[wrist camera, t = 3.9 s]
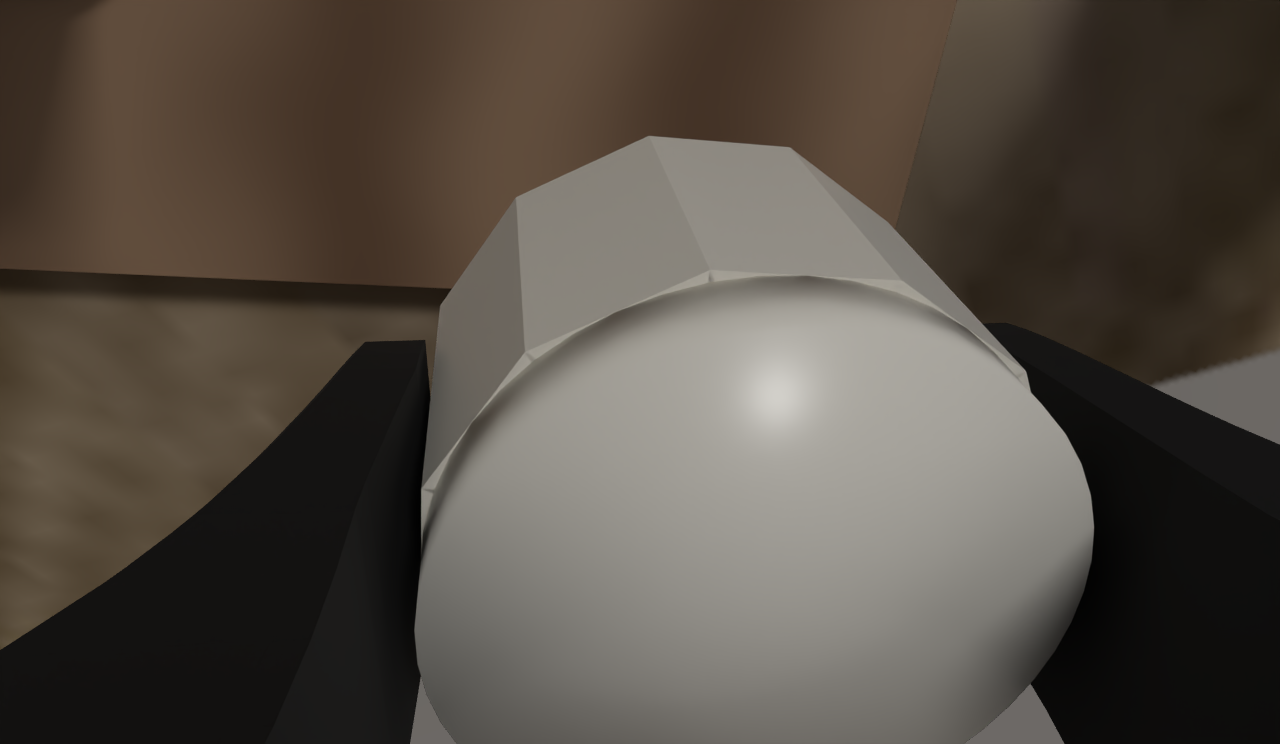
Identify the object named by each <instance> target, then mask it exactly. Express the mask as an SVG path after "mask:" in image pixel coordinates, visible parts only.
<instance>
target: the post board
mask: <svg viewBox="0 0 1280 744" xmlns="http://www.w3.org/2000/svg"><path fill="white" fill-rule="evenodd" d="M956 3H957V0H0V269H21V270H43V271H66V272H88V273H111V274H133V275H156V276H179V277H201V278H224V279H246V280H269V281H291V282H314V283H337V284H359V285H382V286H404V287H427V288H449V289H452V288H453V287H454V285H455V284H456V282H457V281H458V280H459V278H460V277H461V275H462V274H463V272H464V271H465V270H466V268H467V267H468V265H469V264H470V262H471V261H472V259H473V258H474V257H475V255H476V254H477V252H478V251H479V249H480V248H481V247H482V245H483V244H484V242H485V241H486V239H487V238H488V237H489V235H490V234H491V232H492V231H493V229H494V228H495V227H496V225H497V224H498V222H499V221H500V219H501V218H502V217H503V215H504V214H505V212H506V211H507V209H508V208H509V207H510V205H511V204H512V202H513V201H514V199H515V198H516V197H517V196H520V195H522V194H524V193H526V192H528V191H530V190H533V189H535V188H537V187H539V186H541V185H543V184H546V183H548V182H550V181H552V180H554V179H556V178H559V177H561V176H563V175H565V174H567V173H569V172H572V171H574V170H576V169H578V168H580V167H582V166H585V165H587V164H589V163H591V162H593V161H595V160H598V159H600V158H602V157H604V156H606V155H608V154H611V153H613V152H615V151H617V150H619V149H621V148H623V147H626V146H628V145H630V144H632V143H634V142H636V141H639V140H641V139H643V138H645V137H647V136H656V137H669V138H681V139H694V140H706V141H718V142H731V143H743V144H756V145H768V146H780V147H790V148H791V149H793V150H794V151H795V152H797V153H798V154H799V155H800V156H802V157H803V158H804V159H806V160H807V161H808V162H810V163H811V164H812V165H814V166H815V167H816V168H818V169H819V170H820V171H821V172H823V173H824V174H825V175H827V176H828V177H829V178H831V179H832V180H833V181H835V182H836V183H837V184H838V185H840V186H841V187H842V188H844V189H845V190H846V191H848V192H849V193H850V194H852V195H853V196H854V197H856V198H857V199H858V200H859V201H861V202H862V203H863V204H865V205H866V206H867V207H869V208H870V209H871V210H873V211H874V212H875V213H877V214H878V215H879V216H880V217H882V218H883V219H884V220H886V221H887V222H888V223H889V224H890V225H891V226H892V227H893V228H894V229H895V228H896V225H897V221H898V217H899V213H900V210H901V206H902V202H903V199H904V195H905V191H906V188H907V184H908V180H909V176H910V173H911V169H912V165H913V162H914V158H915V154H916V151H917V147H918V143H919V139H920V136H921V132H922V128H923V125H924V121H925V117H926V114H927V110H928V106H929V103H930V99H931V95H932V91H933V88H934V84H935V80H936V77H937V73H938V69H939V66H940V62H941V58H942V54H943V51H944V47H945V43H946V40H947V36H948V32H949V29H950V25H951V21H952V17H953V14H954V10H955V6H956Z"/></svg>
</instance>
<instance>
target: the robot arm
mask: <svg viewBox="0 0 1280 744" xmlns="http://www.w3.org/2000/svg"><path fill="white" fill-rule="evenodd" d="M983 325H984V326H985V328H986V329H987V330H988V331H989V332H990V333H991V334H992V335H993V336H994V337H995V338H996V339H997V340H998V342H999V343H1000V344H1001V345H1002V346H1003V347H1004V348H1005V349H1006V350H1007V351H1008V352H1009V353H1010V354H1011V356H1012V357H1013V358H1014V359H1015V360H1016V361H1017V362H1018V363H1019V364H1020V365H1021V366H1022V367H1023V369H1024V370H1025V371H1026V373H1027V377H1028V382H1029V386H1030V390H1031V393H1032V394H1033V395H1034V396H1035V398H1036V399H1037V400H1038V401H1039V402H1040V403H1041V404H1042V405H1043V406H1044V408H1045V409H1046V410H1047V411H1048V413H1049V414H1050V415H1051V416H1052V418H1053V419H1054V420H1055V421H1056V423H1057V424H1058V425H1059V426H1060V428H1061V429H1062V430H1063V431H1064V433H1065V434H1066V436H1067V438H1068V439H1069V441H1070V443H1071V445H1072V447H1073V449H1074V451H1075V453H1076V455H1077V457H1078V458H1079V460H1080V462H1081V464H1082V467H1083V471H1084V474H1085V478H1086V481H1087V484H1088V488H1089V491H1090V494H1091V502H1092V512H1093V521H1094V536H1093V549H1092V560H1091V564H1090V568H1089V573H1088V577H1087V581H1086V585H1085V589H1084V592H1083V595H1082V597H1081V600H1080V602H1079V605H1078V607H1077V609H1076V612H1075V614H1074V617H1073V619H1072V622H1071V624H1070V625H1069V627H1068V629H1067V631H1066V632H1065V634H1064V636H1063V638H1062V639H1061V641H1060V643H1059V645H1058V646H1057V648H1056V650H1055V652H1054V653H1053V654H1052V656H1051V657H1050V658H1049V660H1048V661H1047V662H1046V664H1045V665H1044V666H1043V668H1042V669H1041V671H1040V672H1039V673H1038V675H1037V676H1036V677H1035V679H1034V680H1033V681H1032V682H1031V685H1032V686H1033V688H1034V690H1035V692H1036V693H1037V695H1038V697H1039V698H1040V700H1041V702H1042V703H1043V705H1044V707H1045V708H1046V710H1047V712H1048V714H1049V716H1050V718H1051V719H1052V721H1053V723H1054V725H1055V727H1056V729H1057V731H1058V732H1059V734H1060V736H1061V738H1062V740H1063V742H1064V744H1280V445H1279V444H1277V443H1275V442H1272V441H1270V440H1267V439H1265V438H1263V437H1260V436H1258V435H1256V434H1253V433H1251V432H1249V431H1246V430H1244V429H1242V428H1239V427H1237V426H1235V425H1233V424H1230V423H1228V422H1226V421H1224V420H1221V419H1219V418H1217V417H1215V416H1213V415H1210V414H1208V413H1206V412H1204V411H1202V410H1199V409H1197V408H1195V407H1193V406H1191V405H1189V404H1186V403H1184V402H1182V401H1180V400H1178V399H1176V398H1173V397H1172V396H1170V395H1167V394H1165V393H1163V392H1161V391H1159V390H1157V389H1155V388H1153V387H1151V386H1149V385H1146V384H1144V383H1142V382H1140V381H1138V380H1136V379H1134V378H1132V377H1130V376H1128V375H1126V374H1123V373H1121V372H1119V371H1117V370H1115V369H1113V368H1111V367H1109V366H1107V365H1105V364H1103V363H1100V362H1098V361H1096V360H1094V359H1092V358H1090V357H1088V356H1086V355H1084V354H1081V353H1079V352H1077V351H1075V350H1073V349H1071V348H1068V347H1066V346H1064V345H1062V344H1059V343H1057V342H1055V341H1053V340H1051V339H1048V338H1046V337H1043V336H1041V335H1039V334H1036V333H1034V332H1031V331H1028V330H1026V329H1023V328H1020V327H1017V326H1014V325H1011V324H1008V323H988V324H983ZM429 410H430V388H429V377H428V366H427V355H426V344H425V340H413V341H379V342H365V343H364V344H363V345H362V346H361V347H360V348H359V349H358V350H357V351H356V352H355V353H354V354H353V355H352V356H351V357H350V358H349V359H348V360H347V361H346V362H345V364H344V365H343V366H342V367H341V368H340V369H339V370H338V372H337V373H336V374H335V375H334V376H333V377H332V378H331V380H330V381H329V382H328V383H327V384H326V385H325V386H324V388H323V389H322V390H321V391H320V392H319V393H318V394H317V395H316V396H315V398H314V399H313V400H312V401H311V402H310V403H309V404H308V405H307V406H306V408H305V409H304V410H303V411H302V412H301V413H300V414H299V415H298V416H297V417H296V418H295V419H294V420H293V421H292V422H291V423H290V424H289V425H288V426H287V427H286V429H285V430H284V431H283V432H282V433H281V434H280V435H279V436H278V437H277V438H276V439H275V440H274V441H273V442H272V443H271V444H270V445H269V446H268V447H267V448H266V449H265V450H264V451H263V452H262V453H261V454H260V455H259V456H258V457H257V458H256V459H255V460H254V461H253V462H252V463H251V464H250V465H249V466H248V467H247V468H246V469H244V470H243V471H242V472H241V473H240V474H239V475H238V476H237V477H236V478H235V479H234V480H233V481H231V482H230V483H229V484H228V485H227V486H226V487H225V488H224V489H223V490H222V491H221V492H220V493H219V494H217V495H216V496H215V497H214V498H213V499H212V500H211V501H210V502H209V503H207V504H206V505H205V506H204V507H203V508H202V509H200V510H199V511H198V512H197V513H196V514H194V515H193V516H192V517H191V518H190V519H188V520H187V521H186V522H185V523H183V524H182V525H181V526H180V527H178V528H177V529H176V530H175V531H173V532H172V533H171V534H170V535H168V536H167V537H166V538H164V539H163V540H162V541H160V542H159V543H158V544H156V545H155V546H154V547H152V548H151V549H150V550H148V551H147V552H146V553H144V554H143V555H142V556H140V557H139V558H138V559H136V560H135V561H134V562H132V563H131V564H130V565H128V566H127V567H126V568H124V569H123V570H122V571H120V572H119V573H117V574H116V575H115V576H113V577H112V578H110V579H109V580H108V581H106V582H105V583H103V584H102V585H100V586H99V587H97V588H95V589H94V590H92V591H91V592H89V593H88V594H86V595H85V596H83V597H82V598H80V599H79V600H77V601H75V602H74V603H72V604H71V605H69V606H68V607H66V608H65V609H63V610H62V611H60V612H58V613H57V614H55V615H54V616H52V617H51V618H49V619H48V620H46V621H45V622H43V623H41V624H40V625H38V626H37V627H35V628H34V629H32V630H31V631H29V632H28V633H26V634H24V635H23V636H21V637H20V638H18V639H17V640H15V641H14V642H12V643H11V644H9V645H8V646H6V647H4V648H3V649H1V650H0V744H410V739H411V733H412V726H413V721H414V715H415V708H416V702H417V695H418V689H419V683H420V677H421V674H420V670H419V667H418V664H417V653H416V643H415V632H414V629H415V618H416V608H417V597H418V586H419V576H420V565H421V487H422V478H423V468H424V458H425V449H426V439H427V429H428V419H429Z"/></svg>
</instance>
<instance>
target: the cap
mask: <svg viewBox="0 0 1280 744" xmlns="http://www.w3.org/2000/svg"><path fill="white" fill-rule="evenodd" d="M1093 536H1094V521H1093V512H1092V502H1091V494H1090V491H1089V488H1088V484H1087V481H1086V478H1085V474H1084V471H1083V467H1082V464H1081V462H1080V460H1079V458H1078V457H1077V455H1076V453H1075V451H1074V449H1073V447H1072V445H1071V443H1070V441H1069V439H1068V438H1067V436H1066V434H1065V433H1064V431H1063V430H1062V429H1061V428H1060V426H1059V425H1058V424H1057V423H1056V421H1055V420H1054V419H1053V418H1052V416H1051V415H1050V414H1049V413H1048V411H1047V410H1046V409H1045V408H1044V406H1043V405H1042V404H1041V403H1040V402H1039V401H1038V400H1037V399H1036V398H1035V396H1034V395H1033V394H1032V393H1031V390H1030V386H1029V382H1028V377H1027V373H1026V371H1025V370H1024V369H1023V367H1022V366H1021V365H1020V364H1019V363H1018V362H1017V361H1016V360H1015V359H1014V358H1013V357H1012V356H1011V354H1010V353H1009V352H1008V351H1007V350H1006V349H1005V348H1004V347H1003V346H1002V345H1001V344H1000V343H999V342H998V340H997V339H996V338H995V337H994V336H993V335H992V334H991V333H990V332H989V331H988V330H987V329H986V328H985V326H984V325H983V324H982V323H981V322H980V321H979V320H978V319H977V318H976V317H975V316H974V315H973V313H972V312H971V311H970V310H969V309H968V308H967V307H966V306H965V305H964V304H963V303H962V302H961V301H960V299H959V298H958V297H957V296H956V295H955V294H954V293H953V292H952V291H951V290H950V289H949V288H948V286H947V285H946V284H945V283H944V282H943V281H942V280H941V279H940V278H939V277H938V276H937V275H936V274H935V272H934V271H933V270H932V269H931V268H930V267H929V266H928V265H927V264H926V263H925V262H924V261H923V260H922V258H921V257H920V256H919V255H918V254H917V253H916V252H915V251H914V250H913V249H912V248H911V247H910V245H909V244H908V243H907V242H906V241H905V240H904V239H903V238H902V237H901V236H900V235H899V234H898V233H897V231H896V230H895V229H894V228H893V227H892V226H891V225H890V224H889V223H888V222H887V221H886V220H884V219H883V218H882V217H880V216H879V215H878V214H877V213H875V212H874V211H873V210H871V209H870V208H869V207H867V206H866V205H865V204H863V203H862V202H861V201H859V200H858V199H857V198H856V197H854V196H853V195H852V194H850V193H849V192H848V191H846V190H845V189H844V188H842V187H841V186H840V185H838V184H837V183H836V182H835V181H833V180H832V179H831V178H829V177H828V176H827V175H825V174H824V173H823V172H821V171H820V170H819V169H818V168H816V167H815V166H814V165H812V164H811V163H810V162H808V161H807V160H806V159H804V158H803V157H802V156H800V155H799V154H798V153H797V152H795V151H794V150H793V149H791V148H790V147H780V146H768V145H756V144H743V143H731V142H718V141H706V140H694V139H681V138H669V137H656V136H647V137H645V138H643V139H641V140H639V141H636V142H634V143H632V144H630V145H628V146H626V147H623V148H621V149H619V150H617V151H615V152H613V153H611V154H608V155H606V156H604V157H602V158H600V159H598V160H595V161H593V162H591V163H589V164H587V165H585V166H582V167H580V168H578V169H576V170H574V171H572V172H569V173H567V174H565V175H563V176H561V177H559V178H556V179H554V180H552V181H550V182H548V183H546V184H543V185H541V186H539V187H537V188H535V189H533V190H530V191H528V192H526V193H524V194H522V195H520V196H517V197H516V198H515V199H514V201H513V202H512V204H511V205H510V207H509V208H508V209H507V211H506V212H505V214H504V215H503V217H502V218H501V219H500V221H499V222H498V224H497V225H496V227H495V228H494V229H493V231H492V232H491V234H490V235H489V237H488V238H487V239H486V241H485V242H484V244H483V245H482V247H481V248H480V249H479V251H478V252H477V254H476V255H475V257H474V258H473V259H472V261H471V262H470V264H469V265H468V267H467V268H466V270H465V271H464V272H463V274H462V275H461V277H460V278H459V280H458V281H457V282H456V284H455V285H454V287H453V288H452V290H451V291H450V292H449V294H448V295H447V297H446V298H445V300H444V301H443V302H442V304H441V305H440V313H439V323H438V332H437V342H436V352H435V361H434V371H433V381H432V390H431V400H430V410H429V419H428V429H427V439H426V449H425V458H424V468H423V478H422V487H421V565H420V576H419V586H418V597H417V608H416V618H415V629H414V632H415V643H416V653H417V664H418V667H419V670H420V674H421V677H422V681H423V684H424V688H425V691H426V694H427V696H428V698H429V700H430V702H431V704H432V706H433V708H434V710H435V712H436V714H437V716H438V718H439V720H440V722H441V723H442V725H443V726H444V727H445V729H446V730H447V731H448V733H449V734H450V735H451V737H452V738H453V739H454V741H455V742H456V743H457V744H964V743H966V742H967V741H968V740H970V739H971V738H972V737H974V736H975V735H976V734H978V733H979V732H980V731H982V730H983V729H984V728H985V727H986V726H988V725H989V724H990V723H991V722H992V721H993V720H994V719H995V718H997V716H999V715H1000V714H1001V713H1002V712H1003V711H1004V710H1005V709H1007V708H1008V707H1009V706H1010V705H1011V704H1012V703H1013V702H1014V701H1015V699H1016V698H1017V697H1018V696H1019V695H1020V694H1021V693H1022V692H1023V691H1024V690H1025V688H1026V687H1027V686H1028V685H1029V684H1030V683H1031V682H1032V681H1033V680H1034V679H1035V677H1036V676H1037V675H1038V673H1039V672H1040V671H1041V669H1042V668H1043V666H1044V665H1045V664H1046V662H1047V661H1048V660H1049V658H1050V657H1051V656H1052V654H1053V653H1054V652H1055V650H1056V648H1057V646H1058V645H1059V643H1060V641H1061V639H1062V638H1063V636H1064V634H1065V632H1066V631H1067V629H1068V627H1069V625H1070V624H1071V622H1072V619H1073V617H1074V614H1075V612H1076V609H1077V607H1078V605H1079V602H1080V600H1081V597H1082V595H1083V592H1084V589H1085V585H1086V581H1087V577H1088V573H1089V568H1090V564H1091V560H1092V549H1093Z"/></svg>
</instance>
